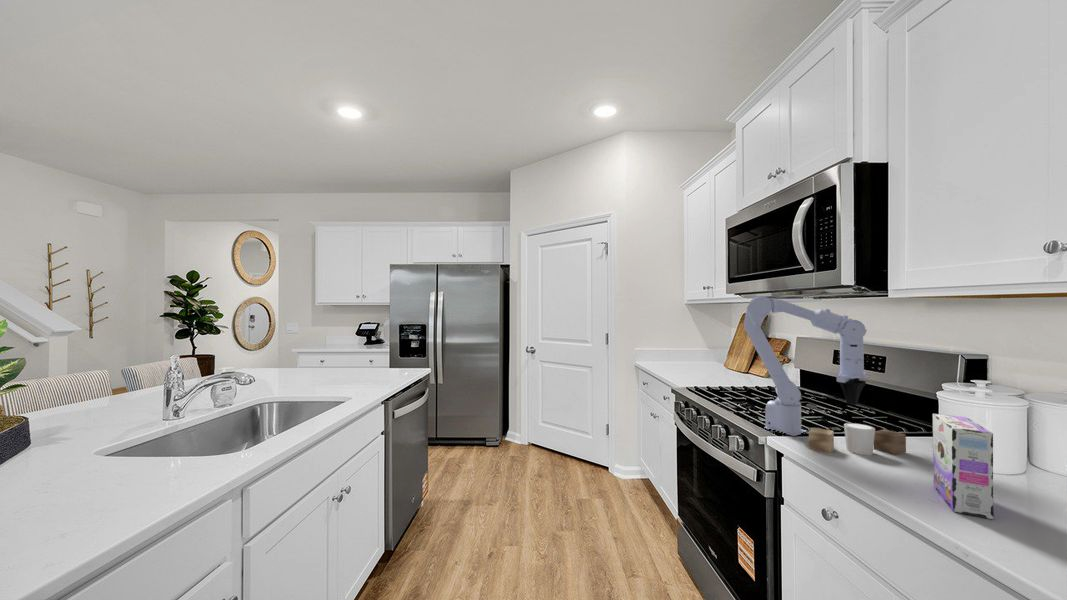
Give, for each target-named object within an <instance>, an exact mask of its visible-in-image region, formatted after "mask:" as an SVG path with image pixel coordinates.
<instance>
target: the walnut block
mask: <svg viewBox="0 0 1067 600" xmlns="http://www.w3.org/2000/svg"><path fill="white" fill-rule="evenodd" d="M873 450H877V451H879V452H884V453H886V454H889V455H893V456H897V455H901V454H902V455H903V454H906V453H907V435H906V434H904V433H900V432H896V431H892V430H889V429H881V430H880V429H879V430H875V436H874V445H873Z"/></svg>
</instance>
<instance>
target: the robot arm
mask: <svg viewBox="0 0 1067 600" xmlns="http://www.w3.org/2000/svg"><path fill="white" fill-rule="evenodd" d="M770 313H773V314H774V313H776V314H777V313H785V314H789V315H792V316H794V317H798V318H802V319H804V320H808V321H809V322H810V323H811V325H812V326H813V327H815V328H818V329H821V330H824V331H826V332H829V333H833V334H835V335H836V334H839V336H840V337H839V338H840V343H839V373H838V374H837V375H836V382H837V383H838V384H839V386H840V387H841V389H842V391H843V394H844V398H845V401H846V404H847V405H853V406H857V405H858V402H859V398H860V395H861V393H862V390H863V389H864V387H865V385H866V383H867V382H866V381H865V380H860V379H867V378H869V375H868V374H867V371H865V366H864V365H865V363H864V362H865V361H864V360H865V357H864V355H865V354H864V353H865V351H864V349H865V346H864V337H865V335H866V333H867V331H868V330H867V329H866V326H865V324H864V323H863V322H862V321H860V320H857V319H853V318H849V316H848V315H845V314H844V315H841V314H838V313H836V312H835V313H834V312H832V311H831V309H829V308H825V309H822V308H820V309H816V310H811V309H808V308H805V307H803V306H799V305H798V304H794V303H792V302H788V301H787V300H783V299H778V298H773V297H767V296H764V295H758V296H756V297H753V298H752V299H750V302H749V304H748V305H747V307H746V311H745V317H744V323H743V328H744V331H745V332H746V334H747V336H748V338H749V339H750V341H751V343H752V345H753V346H754V348H755V350H756V353H757V354H758V356H759V357H760V359H761V362H762V364H763V365H764V367H765V369H766V371H767V373H768V375H769V376H770V378H771V380H772V382H773V384H774V385H775V386H774V390H775V393H776V394H777V397H776V398H775V399H774V400H771V399H770V400H769V401H767V403H766V405H765V416H764V417H765V426H764V427H763V428H764V429H765V428H766V429H765V430H769V429H771V430H770V431H773V430H776V431H775V432H777V431H780V432H779V433H781V432H783V433H782V434H784V433H786V434H785V435H788V436H792V437H796V436H799V435H802V434H801V433H803V432H806V431H807V429H806V430H805V429H803V428H802V403H801V402H800V401H801V398H802V393H801V390H800V389H799V388H798V386H797V385H796V384H795V383H794V382H793V381H792V380H790V378H789V376H788V375H787V372H786V371H785V369H784V367H783V366H782V364H781V362H780V361H779V359H778V356H777V355H776V353H775V351H774V349H773V347H772V346H771V344H770V342H769V341H768V339H767V336H766V335H765V333H764V331H763V330H762V325H763V323H764V320H765V318H766V317H767V316H768V315H769V314H770ZM806 433H807V432H806ZM803 434H804V433H803Z"/></svg>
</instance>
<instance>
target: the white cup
mask: <svg viewBox="0 0 1067 600" xmlns="http://www.w3.org/2000/svg"><path fill="white" fill-rule="evenodd" d="M843 428H844V436H845V446H846V451H848V452H849V453H852V454H856V455H862V456H872V455H873V453H874V436H875V431H876V428H875V427H873V426H872V425H871V426H870V425H867V424H862V423H856V422H854V423H853V422H846V423H844V424H843Z"/></svg>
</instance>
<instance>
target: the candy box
mask: <svg viewBox="0 0 1067 600" xmlns="http://www.w3.org/2000/svg"><path fill="white" fill-rule="evenodd" d="M931 420H932V421H931V422H932V451H933V452H932V454H933V455H932V456H933V462H932V463H933V487H934V490H936V491H937V493H938V494H939V495H940V496H941V498H942V499H943V500H944V501H945V503H946V504H947V506H948V507H949V508H950V509H951V510H952V511H953V512H954V513H955V512H956V513H960V514H964V515H969V516H975V517H978V518H979V517H980V518H983V519H989V520H995V519H994V518H995V517H994V515H995V514H994V509H995V508H994V433H993V432H991V431H989V430H988V429H986V428H984V427H983V426H981V424H978V423H976V422H975V421H973V420H972V419H970V418H969V417H966V416H958V415H957V416H956V415H950V414H949V415H948V414H938V413H932V419H931Z"/></svg>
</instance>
